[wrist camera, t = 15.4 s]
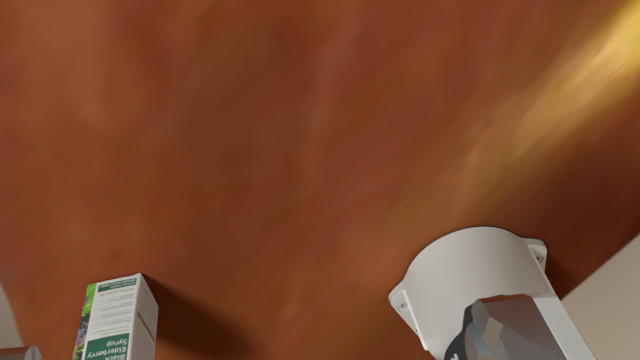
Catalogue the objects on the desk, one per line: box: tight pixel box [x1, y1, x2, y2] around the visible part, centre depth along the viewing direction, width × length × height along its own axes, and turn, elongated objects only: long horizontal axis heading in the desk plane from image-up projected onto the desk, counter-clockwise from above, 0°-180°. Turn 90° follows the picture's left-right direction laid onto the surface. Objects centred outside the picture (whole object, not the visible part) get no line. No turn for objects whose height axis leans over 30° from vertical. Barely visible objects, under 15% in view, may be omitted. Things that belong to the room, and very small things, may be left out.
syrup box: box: [72, 273, 158, 360], centre depth 56 cm, size 6×6×14 cm
